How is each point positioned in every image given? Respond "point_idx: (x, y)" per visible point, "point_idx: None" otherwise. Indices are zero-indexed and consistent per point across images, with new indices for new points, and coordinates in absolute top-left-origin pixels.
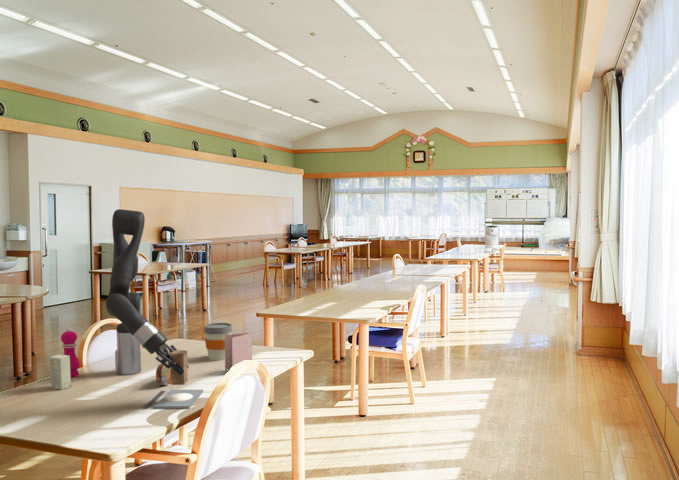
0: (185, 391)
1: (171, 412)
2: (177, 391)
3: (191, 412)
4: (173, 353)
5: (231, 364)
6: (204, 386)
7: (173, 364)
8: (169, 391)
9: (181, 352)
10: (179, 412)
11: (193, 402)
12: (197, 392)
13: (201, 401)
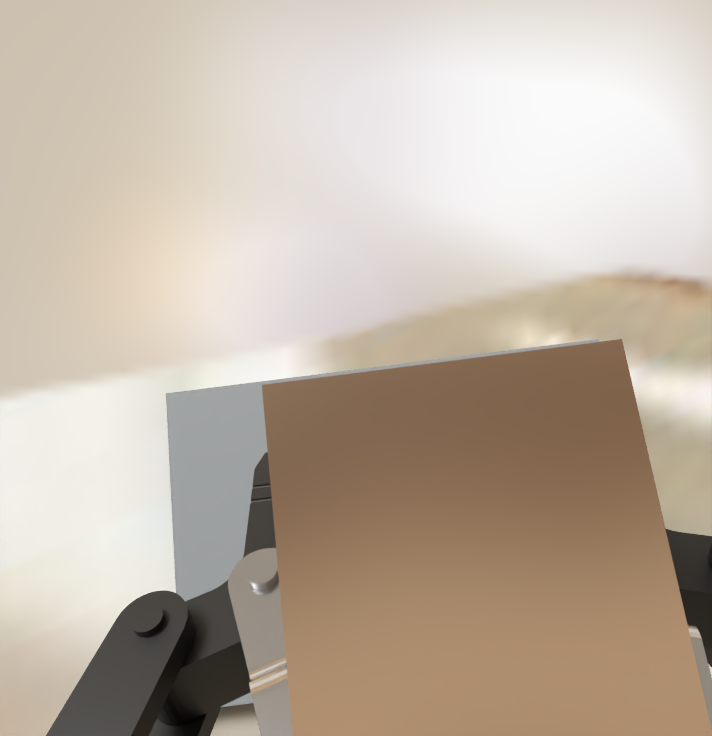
0: (231, 534)
1: (703, 447)
2: None
3: (664, 293)
4: (677, 638)
5: None
6: (23, 445)
7: (688, 541)
8: (242, 700)
9: (512, 446)
10: (687, 383)
11: (471, 357)
12: (249, 412)
13: (413, 316)
